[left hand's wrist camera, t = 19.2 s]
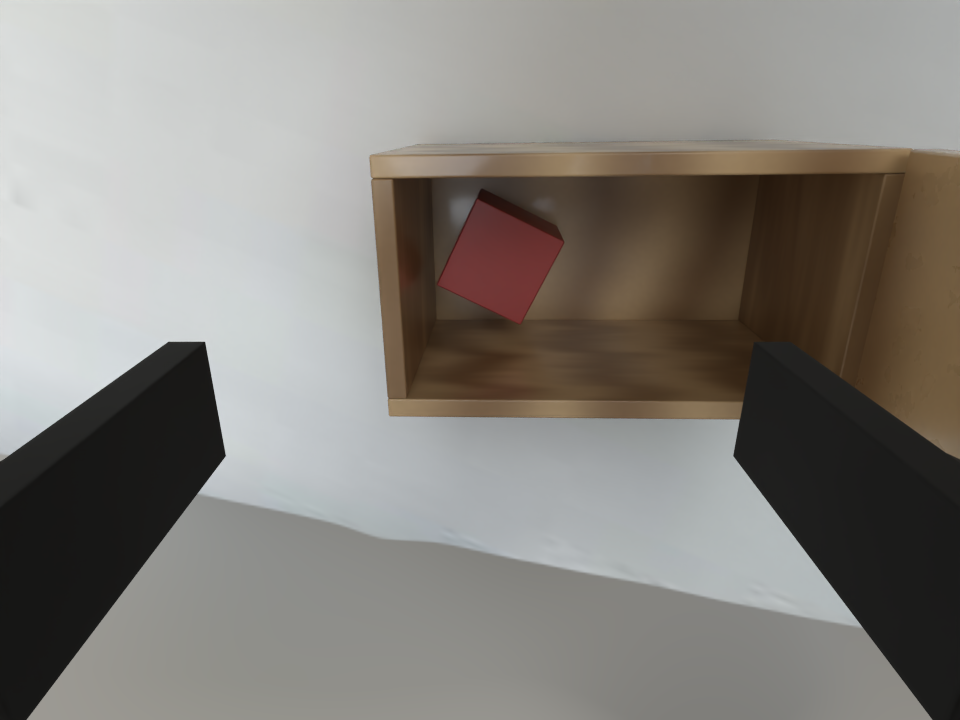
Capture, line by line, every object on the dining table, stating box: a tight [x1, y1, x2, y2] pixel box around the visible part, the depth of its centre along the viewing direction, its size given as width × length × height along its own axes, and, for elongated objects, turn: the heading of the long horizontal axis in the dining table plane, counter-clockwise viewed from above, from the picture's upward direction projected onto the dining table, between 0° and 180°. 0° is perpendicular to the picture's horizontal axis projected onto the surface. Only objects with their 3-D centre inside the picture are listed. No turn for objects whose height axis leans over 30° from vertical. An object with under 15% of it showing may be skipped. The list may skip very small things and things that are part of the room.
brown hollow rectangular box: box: [369, 140, 913, 419], centre depth 26 cm, size 17×10×11 cm, turn 91°
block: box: [437, 189, 564, 324], centre depth 29 cm, size 4×4×4 cm
